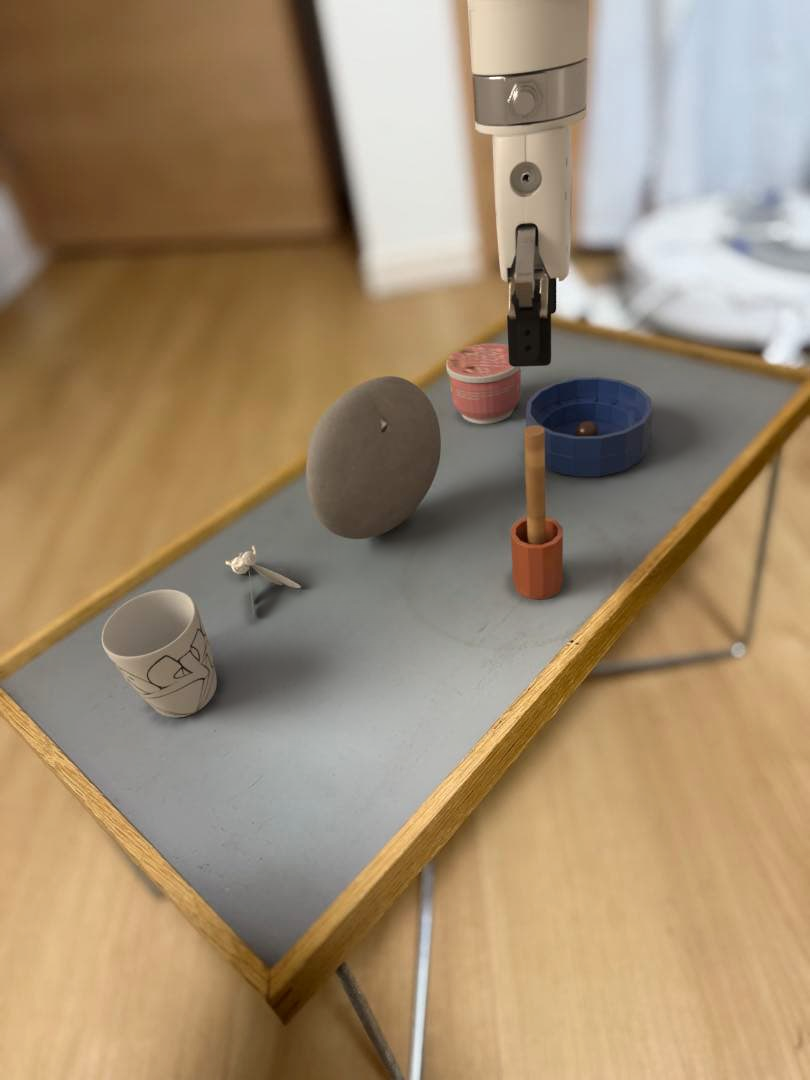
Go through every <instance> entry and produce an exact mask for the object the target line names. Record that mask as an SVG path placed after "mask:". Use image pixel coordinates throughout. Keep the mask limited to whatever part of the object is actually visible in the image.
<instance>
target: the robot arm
mask: <svg viewBox="0 0 810 1080" xmlns="http://www.w3.org/2000/svg"><path fill="white" fill-rule="evenodd" d="M467 15H468V33H469V49H470V63H471V73H472V75H471V78H472V95H473V109H474V129H475V131H476V132H478V133H479V134H482V135H489V136H492V139H491V141H492V163H493V187H494V188H493V189H494V205H495V207H494V208H495V224H496V239H497V251H498V264H499V273H500V279H501V280H502V281H503V282H504V283H506V284H507V285H509V286H508V287H509V289H508V292H509V293H508V314H507V315H506V321H507V322H506V326H507V327H506V329H507V345H508V351H509V364H510V365H511V366H513V367H520V368H521V367H547V366H549V365H550V364H552V363H551V362H552V315H553V314H556V311H557V279H558V282H563V281H564V280H566V279H567V277H568V275H569V273H570V262H571V249H572V248H571V247H572V246H571V244H572V243H571V242H572V238H571V237H572V191H573V190H572V187H573V186H572V182H573V179H572V178H573V175H572V174H573V173H572V172H573V171H572V170H573V157H572V156H573V154H572V150H573V149H572V131H571V129H572V128H571V125H574V124H576V123H578V122H581V121H582V120H584V119H585V118H586V117H587V100H588V98H587V97H588V94H587V93H588V56H589V24H590V23H589V22H590V21H589V19H590V0H467Z"/></svg>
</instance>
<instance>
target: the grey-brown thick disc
mask: <svg viewBox="0 0 810 1080" xmlns="http://www.w3.org/2000/svg"><path fill="white" fill-rule="evenodd" d="M437 415H438V414H437V413H436V409H435V408H434V405H433V403H432V402H431V400H430V399H429V397H428V395H426V394H425V392H424V391H423V390H422V389H421V388H420V387H418V385H416V384H414V383H413V382H411V381H410V380H408V379H405V378H402V377H400V376H395V375H387V376H380V377H375V378H372V379H368V380H366V381H364V382H361V383H359V384H358V385H355V386H354V387H352V388H351V389H349V390H347V391H346V392H345V393H343V394H342V395H341V396H339V397H338V398H337V399H336V400H335V401H333V402H332V404H331V405H330V406H329V407H327V409H326V410H325V411H324V412H323V413H322V414H321V416H320V418H319V419H318V420H317V422H316V423H315V426H314V428H313V429H312V432H311V435H310V437H309V441H308V446H307V447H308V448H307V453H306V463H305V464H306V465H305V484H306V491H307V496H308V500H309V502H310V505H311V508H312V510H313V512H314V514H315V516H316V518H318V520H319V522H320V523H321V525H322V526H324V527H325V528H326V529H327V530H328V531H330V532H331V533H332V534H334V535H336V536H338V537H341V538H344V539H349V540H365V539H372V538H376V537H378V536H381V535H383V534H385V533H387V532H390V531H392V530H393V529H395V528H396V527H398V526H399V525H400V524H402V523H403V522H404V521H406V520H407V518H409V517H410V516H411V515H412V514H413V513H414V512H415V511H416V509H417V508H418V507H419V506H420V504H421V503H422V502H423V500H424V499H425V497H426V496H427V494H428V492H429V490H430V488H431V487H432V485H433V482H434V481H435V478H436V476H437V475H436V474H437V472H438V469H439V466H440V460H441V449H442V439H441V427H440V422H439V418H438V416H437ZM381 420H382V422H381Z"/></svg>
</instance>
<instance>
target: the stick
mask: <svg viewBox="0 0 810 1080" xmlns="http://www.w3.org/2000/svg"><path fill="white" fill-rule="evenodd" d="M523 441H524V442H523V446H524V475H525V502H526V517H527V534H528V544H532V545H542V544H545V543H546V516H547V511H546V510H547V509H546V508H547V506H546V505H547V504H546V503H547V501H546V499H547V498H546V468H545V430H544V428H543V427H541V426H538V425H532V426H528V427H527V428H526V427H525V428H524V429H523Z"/></svg>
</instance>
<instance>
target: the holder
mask: <svg viewBox="0 0 810 1080" xmlns="http://www.w3.org/2000/svg"><path fill="white" fill-rule="evenodd" d="M510 546H511V548H510V549H511V550H510V551H511V565H512V566H511V567H512V583H513V586H514V589H515V591H516V592H517V593H519V595H521V596H523V597H524V598H527V599H531V600H545V599H549V598H551V597H553V596H555V595H556V594H558V593H559V592H560V591H561V589H562V587H563V577H564V576H563V573H564V571H563V570H564V569H563V567H564V564H563V559H564V557H563V555H564V551H563V550H564V549H563V548H564V527H563V526H562V525H561V523H560V522H559V521H558V520H557V519H555V518H552V517H550V516H547V515H546V543H545V544H542V545H532V544H528V534H527V516H525V517H522V518H520V519H518V520H517V521H516V522H515V523H514V524H513V525H512V526H511V529H510Z"/></svg>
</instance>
